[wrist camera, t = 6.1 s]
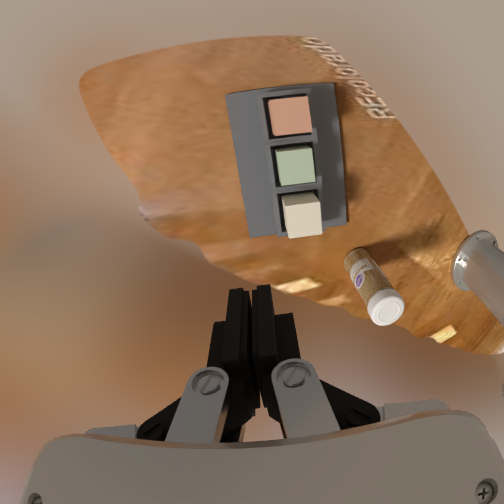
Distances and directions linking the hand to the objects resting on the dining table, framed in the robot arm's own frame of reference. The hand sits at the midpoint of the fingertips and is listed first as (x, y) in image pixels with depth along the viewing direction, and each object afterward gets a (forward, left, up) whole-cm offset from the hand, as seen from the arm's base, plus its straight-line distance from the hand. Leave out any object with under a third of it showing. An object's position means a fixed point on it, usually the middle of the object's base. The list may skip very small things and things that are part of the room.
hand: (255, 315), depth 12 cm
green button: (-5, -3, -28) cm, 29 cm away
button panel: (-5, -3, -29) cm, 30 cm away
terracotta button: (-3, -9, -26) cm, 28 cm away
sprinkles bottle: (-18, +10, -29) cm, 36 cm away
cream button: (-6, +3, -26) cm, 27 cm away
